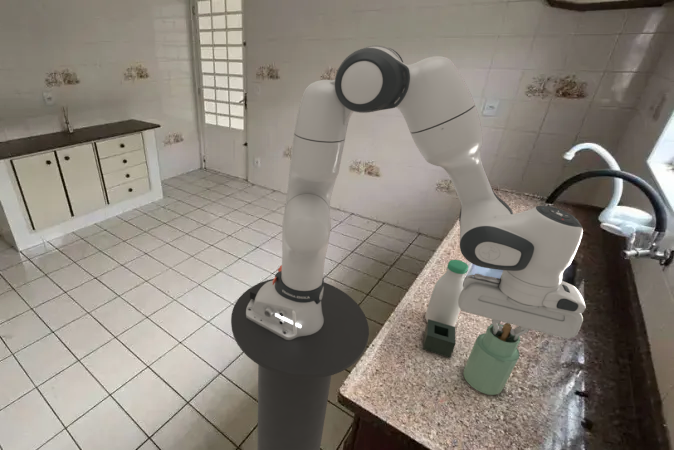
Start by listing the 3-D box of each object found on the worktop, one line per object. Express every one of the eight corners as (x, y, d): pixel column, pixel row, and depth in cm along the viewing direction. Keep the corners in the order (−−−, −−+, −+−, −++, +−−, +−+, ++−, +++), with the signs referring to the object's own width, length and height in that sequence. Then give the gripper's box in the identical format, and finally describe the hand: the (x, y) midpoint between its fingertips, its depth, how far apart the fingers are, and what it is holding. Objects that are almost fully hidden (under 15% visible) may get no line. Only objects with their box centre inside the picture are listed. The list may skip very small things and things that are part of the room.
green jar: (463, 386, 81) (484, 339, 74) (462, 361, 87) (481, 316, 80) (504, 400, 78) (529, 353, 71) (500, 373, 84) (523, 327, 77)
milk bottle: (453, 335, 95) (475, 276, 85) (422, 325, 98) (440, 266, 89) (455, 318, 101) (476, 261, 91) (426, 309, 104) (443, 252, 95)
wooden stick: (480, 380, 82) (505, 326, 74) (479, 372, 84) (504, 319, 75) (487, 382, 81) (513, 328, 73) (486, 374, 83) (512, 321, 75)
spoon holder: (422, 349, 91) (427, 335, 89) (423, 332, 96) (428, 319, 94) (450, 357, 88) (455, 343, 86) (450, 340, 93) (455, 326, 91)
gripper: (467, 279, 71) (450, 330, 78) (597, 310, 63) (565, 363, 69) (466, 263, 76) (449, 312, 82) (586, 290, 68) (557, 341, 74)
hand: (503, 335), depth 76 cm, fingers closed on wooden stick
